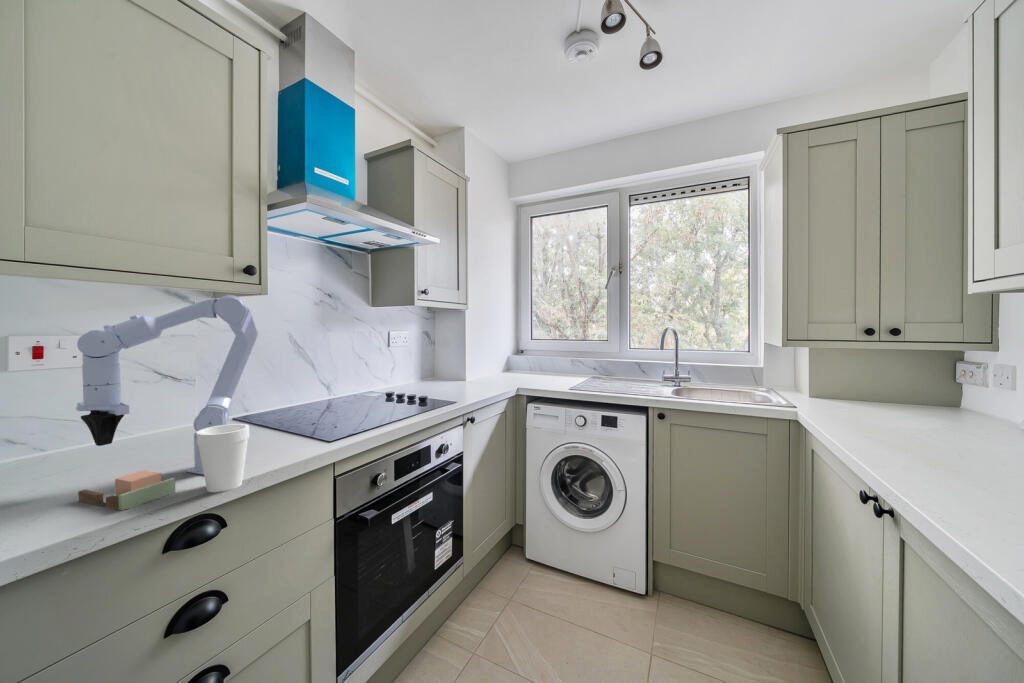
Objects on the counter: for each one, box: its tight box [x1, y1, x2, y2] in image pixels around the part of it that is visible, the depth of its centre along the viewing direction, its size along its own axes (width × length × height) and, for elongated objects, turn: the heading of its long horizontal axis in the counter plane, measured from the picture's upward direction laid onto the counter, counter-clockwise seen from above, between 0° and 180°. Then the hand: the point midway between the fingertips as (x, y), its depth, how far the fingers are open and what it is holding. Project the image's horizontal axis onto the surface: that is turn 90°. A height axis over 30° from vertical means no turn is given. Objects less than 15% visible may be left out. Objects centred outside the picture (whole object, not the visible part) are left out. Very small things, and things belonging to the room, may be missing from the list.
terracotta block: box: [114, 469, 162, 497], centre depth 79 cm, size 5×5×5 cm
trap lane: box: [77, 477, 176, 511], centre depth 80 cm, size 9×14×3 cm, turn 72°
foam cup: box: [197, 423, 250, 493], centre depth 85 cm, size 10×9×13 cm
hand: (104, 444), depth 85 cm, fingers closed
